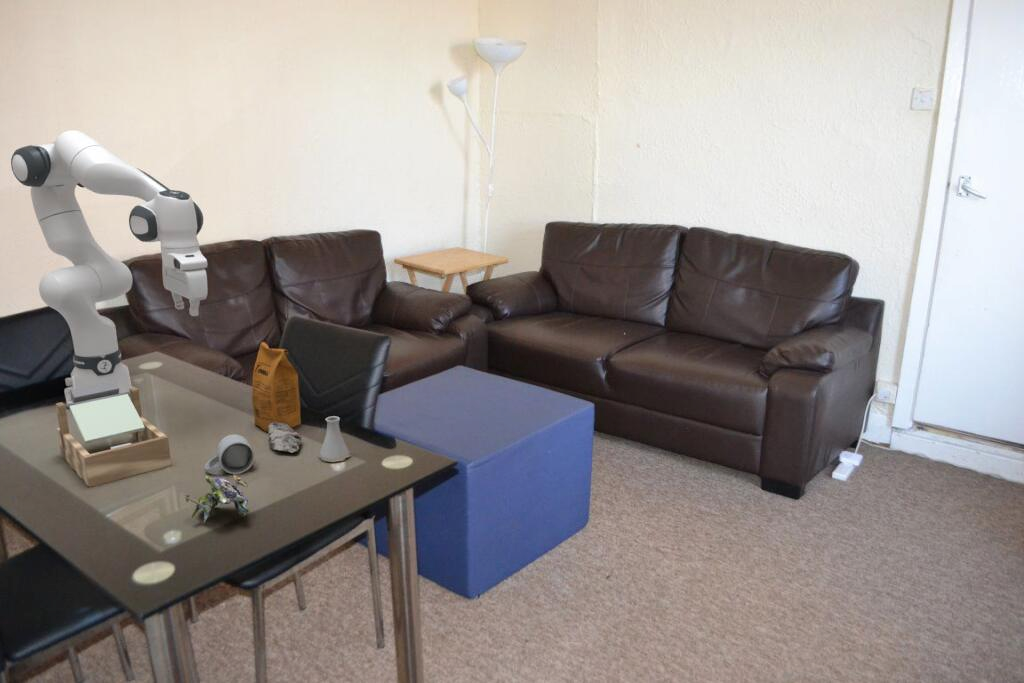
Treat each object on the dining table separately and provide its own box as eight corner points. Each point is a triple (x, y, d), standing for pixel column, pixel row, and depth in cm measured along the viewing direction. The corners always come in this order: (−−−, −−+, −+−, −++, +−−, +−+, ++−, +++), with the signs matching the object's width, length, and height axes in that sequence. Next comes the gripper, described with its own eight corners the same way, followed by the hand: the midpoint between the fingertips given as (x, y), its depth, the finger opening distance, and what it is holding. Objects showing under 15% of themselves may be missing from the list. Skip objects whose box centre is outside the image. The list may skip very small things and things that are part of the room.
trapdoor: (61, 399, 194) (61, 391, 192) (123, 387, 203) (124, 379, 201) (82, 447, 186) (83, 439, 184) (146, 431, 195) (147, 424, 193)
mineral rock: (302, 455, 197) (301, 438, 196) (268, 459, 195) (266, 441, 194) (301, 433, 211) (300, 417, 210) (269, 436, 209) (268, 420, 208)
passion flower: (243, 538, 170) (263, 504, 163) (191, 547, 162) (210, 512, 156) (226, 493, 175) (245, 459, 169) (175, 500, 168) (193, 464, 161)
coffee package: (282, 415, 223) (276, 337, 217) (306, 427, 215) (301, 346, 209) (248, 424, 216) (241, 344, 210) (272, 437, 208) (265, 354, 202)
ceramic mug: (249, 457, 196) (246, 428, 193) (256, 470, 188) (252, 439, 186) (203, 466, 191) (199, 436, 189) (207, 480, 184) (203, 448, 182)
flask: (313, 457, 196) (310, 418, 193) (338, 449, 201) (336, 410, 198) (331, 466, 191) (328, 426, 188) (356, 457, 196) (354, 418, 194)
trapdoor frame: (61, 455, 196) (52, 400, 192) (138, 436, 208) (131, 384, 204) (89, 487, 180) (80, 427, 176) (171, 465, 191) (164, 408, 187)
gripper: (153, 253, 207) (159, 306, 211) (183, 264, 192) (189, 321, 196) (178, 251, 211) (183, 303, 215) (210, 261, 196) (215, 317, 200)
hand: (187, 312), depth 205 cm, fingers open, 8 cm apart
